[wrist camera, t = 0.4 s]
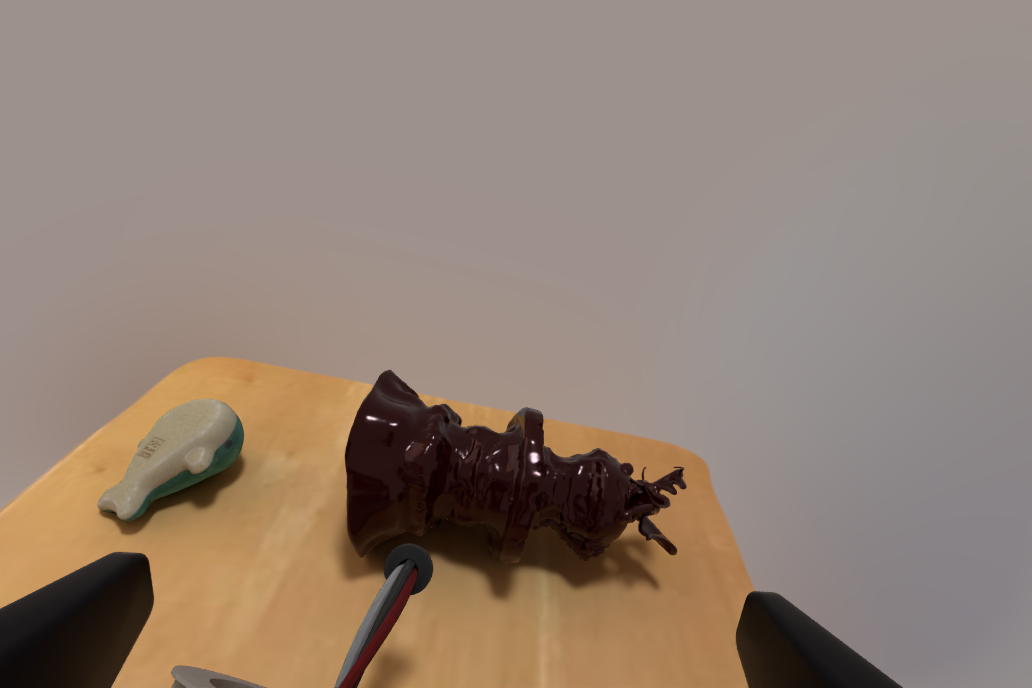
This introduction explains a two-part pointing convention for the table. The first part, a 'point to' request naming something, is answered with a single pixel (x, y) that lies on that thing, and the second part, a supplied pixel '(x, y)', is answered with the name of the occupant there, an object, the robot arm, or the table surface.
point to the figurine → (485, 480)
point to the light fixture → (404, 577)
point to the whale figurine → (177, 456)
